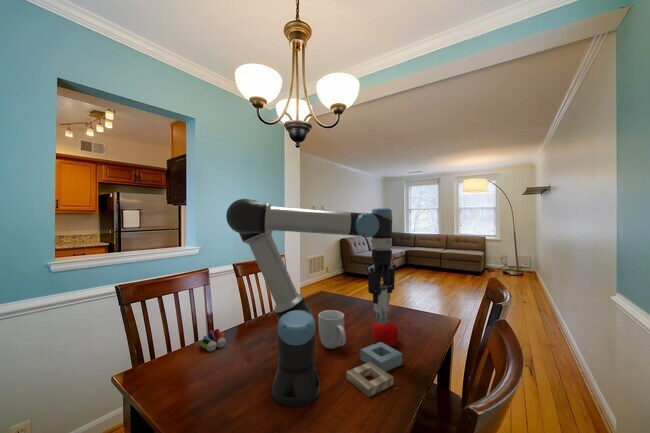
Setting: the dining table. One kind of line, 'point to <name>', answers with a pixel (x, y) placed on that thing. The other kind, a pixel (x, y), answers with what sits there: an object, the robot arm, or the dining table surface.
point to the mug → (331, 329)
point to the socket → (381, 356)
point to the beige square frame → (373, 386)
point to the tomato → (385, 333)
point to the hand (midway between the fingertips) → (381, 310)
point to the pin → (382, 304)
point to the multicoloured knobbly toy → (213, 340)
